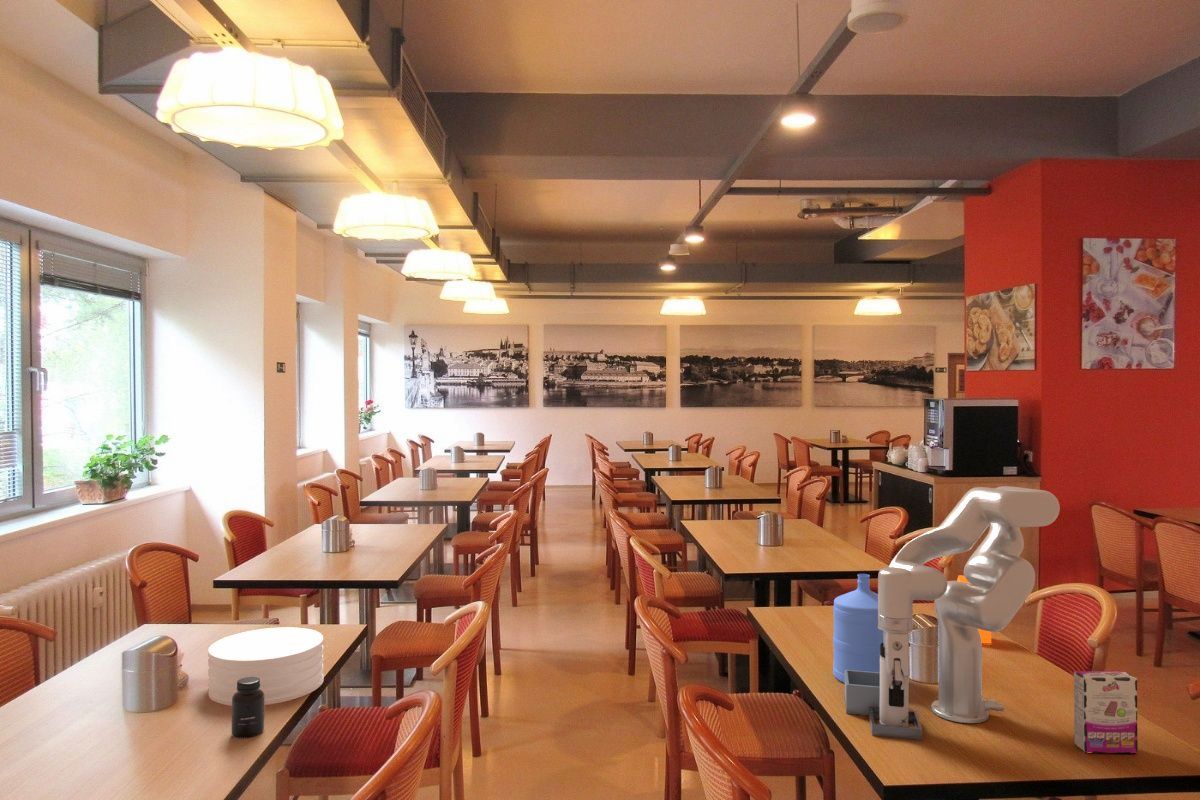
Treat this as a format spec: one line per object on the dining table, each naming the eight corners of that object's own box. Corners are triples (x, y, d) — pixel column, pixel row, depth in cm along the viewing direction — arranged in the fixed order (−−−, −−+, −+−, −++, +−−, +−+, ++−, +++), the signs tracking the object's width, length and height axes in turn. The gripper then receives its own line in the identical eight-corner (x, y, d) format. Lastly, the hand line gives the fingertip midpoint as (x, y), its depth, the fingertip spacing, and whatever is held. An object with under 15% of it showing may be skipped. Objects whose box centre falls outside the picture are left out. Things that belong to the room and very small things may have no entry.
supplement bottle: (243, 741, 180) (243, 687, 180) (225, 734, 183) (224, 681, 183) (270, 730, 186) (270, 678, 185) (252, 724, 189) (252, 672, 189)
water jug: (874, 693, 208) (874, 584, 208) (821, 677, 220) (821, 574, 220) (905, 679, 219) (905, 575, 218) (853, 664, 230) (853, 566, 230)
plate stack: (203, 713, 196) (203, 666, 196) (212, 675, 222) (212, 633, 222) (326, 697, 206) (326, 652, 206) (321, 662, 232) (320, 622, 232)
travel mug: (912, 735, 183) (912, 646, 183) (881, 732, 185) (881, 645, 184) (907, 724, 189) (907, 638, 189) (877, 721, 191) (878, 636, 190)
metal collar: (916, 721, 191) (916, 711, 191) (922, 740, 181) (922, 729, 181) (868, 717, 193) (868, 706, 193) (872, 735, 183) (872, 724, 183)
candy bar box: (1124, 744, 178) (1125, 670, 178) (1138, 755, 173) (1139, 678, 173) (1072, 743, 179) (1072, 669, 179) (1084, 754, 174) (1085, 677, 174)
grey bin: (889, 701, 203) (889, 673, 203) (893, 718, 193) (894, 688, 193) (844, 697, 206) (844, 669, 206) (846, 713, 196) (846, 684, 195)
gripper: (917, 634, 177) (916, 716, 178) (908, 613, 194) (907, 688, 194) (881, 632, 179) (880, 713, 180) (875, 611, 196) (874, 685, 196)
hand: (894, 699), depth 187 cm, fingers closed on travel mug, 6 cm apart
